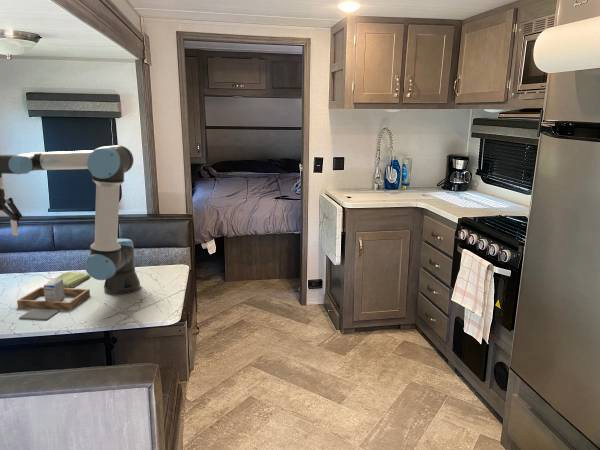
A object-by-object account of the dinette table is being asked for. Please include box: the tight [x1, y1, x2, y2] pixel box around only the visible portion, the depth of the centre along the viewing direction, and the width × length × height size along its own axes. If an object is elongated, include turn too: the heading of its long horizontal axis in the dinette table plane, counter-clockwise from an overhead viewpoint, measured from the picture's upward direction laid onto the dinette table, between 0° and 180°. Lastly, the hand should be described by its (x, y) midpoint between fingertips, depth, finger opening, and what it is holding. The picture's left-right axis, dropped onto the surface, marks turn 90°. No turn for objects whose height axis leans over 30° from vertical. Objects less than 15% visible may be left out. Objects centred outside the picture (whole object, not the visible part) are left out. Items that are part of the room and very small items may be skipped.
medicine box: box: [43, 278, 65, 301], centre depth 185 cm, size 8×4×9 cm, turn 5°
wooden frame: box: [16, 286, 91, 311], centre depth 186 cm, size 22×15×3 cm
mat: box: [18, 308, 62, 321], centre depth 174 cm, size 11×9×1 cm
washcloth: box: [54, 271, 92, 289], centre depth 208 cm, size 13×18×3 cm
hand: (0, 239), depth 185 cm, fingers open, 13 cm apart
